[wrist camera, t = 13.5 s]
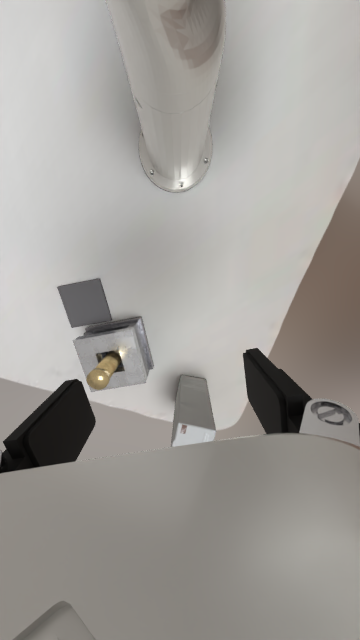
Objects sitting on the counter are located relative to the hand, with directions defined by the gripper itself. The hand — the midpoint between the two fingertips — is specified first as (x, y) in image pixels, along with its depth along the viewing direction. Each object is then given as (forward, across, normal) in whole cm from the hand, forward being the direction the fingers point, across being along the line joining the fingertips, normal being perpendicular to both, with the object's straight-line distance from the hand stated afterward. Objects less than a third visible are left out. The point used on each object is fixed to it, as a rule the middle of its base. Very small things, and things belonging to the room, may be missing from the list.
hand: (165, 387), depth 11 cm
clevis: (+30, +14, +8) cm, 34 cm away
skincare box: (+31, +1, +22) cm, 38 cm away
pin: (+29, +14, +8) cm, 33 cm away
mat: (+30, +19, -3) cm, 36 cm away
